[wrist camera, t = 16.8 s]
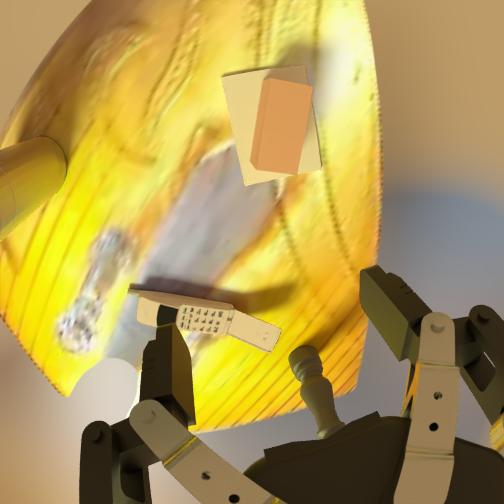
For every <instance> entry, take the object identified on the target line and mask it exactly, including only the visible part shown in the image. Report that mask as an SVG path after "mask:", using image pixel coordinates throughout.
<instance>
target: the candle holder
mask: <svg viewBox="0 0 504 504" xmlns="http://www.w3.org/2000/svg"><path fill="white" fill-rule="evenodd" d="M289 363H290V366H291V369H292V372H293V373H294V375H295V377H296V378H297V380H298V381H300V382H302V383H301V384H302V386H301V390H300V395H301V397H302V399H303V400H304V402H305V403H306V405H307V406H308V407H309V409H310V410H311V412H312V413H313V415H314V416H315V419H316V422H317V425H318V428H319V430H318V432H317V437H318V438H320V439H325V438H327V437H329V436H330V435H332V434H334V433H335V432H337V431H338V430H340V429H341V428H343V427H344V426H346V425H345V423H344V422H341V421H340V420H339V418H338V416H337V413H336V411H335V406H334V398H333V390H332V385H331V383H330V381H329V380H328V379H327V378H325V377H323V375H322V371H323V367H322V365H321V364H322V362H321V359H320V357H319V355H318V352H317V350H316V348H315V347H313V346H308V345H306V346H301V347H299V348H297V349H295V350H294V351H293V352H291V354H290V355H289Z"/></svg>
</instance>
